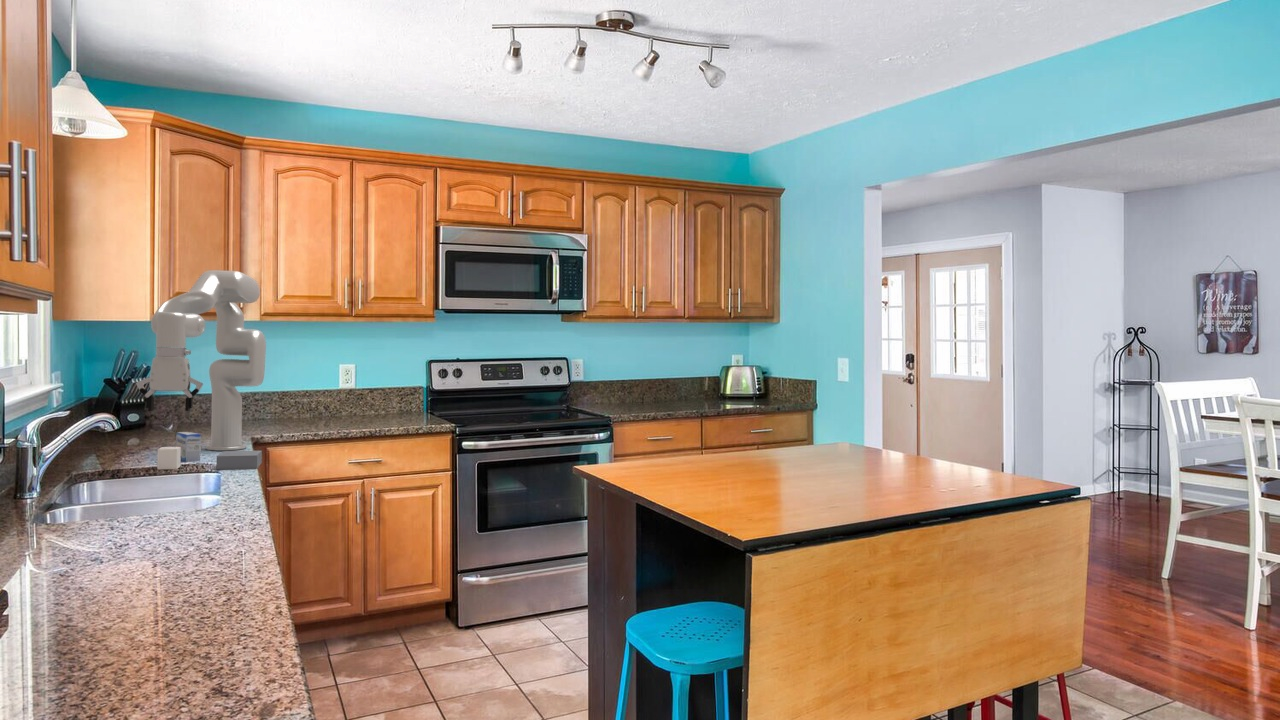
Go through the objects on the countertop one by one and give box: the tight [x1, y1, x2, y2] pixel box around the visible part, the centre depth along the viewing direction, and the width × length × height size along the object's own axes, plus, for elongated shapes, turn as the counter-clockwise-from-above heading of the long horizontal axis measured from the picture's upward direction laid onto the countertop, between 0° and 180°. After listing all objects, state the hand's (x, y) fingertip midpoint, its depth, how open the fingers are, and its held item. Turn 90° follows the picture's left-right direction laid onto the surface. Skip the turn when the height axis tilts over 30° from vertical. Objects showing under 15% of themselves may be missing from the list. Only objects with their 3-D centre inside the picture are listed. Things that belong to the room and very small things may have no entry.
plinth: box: [215, 450, 263, 471], centre depth 241 cm, size 11×11×4 cm
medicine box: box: [175, 431, 202, 463], centre depth 251 cm, size 8×4×9 cm, turn 52°
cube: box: [156, 446, 182, 470], centre depth 235 cm, size 5×5×6 cm
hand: (169, 410), depth 234 cm, fingers open, 9 cm apart
